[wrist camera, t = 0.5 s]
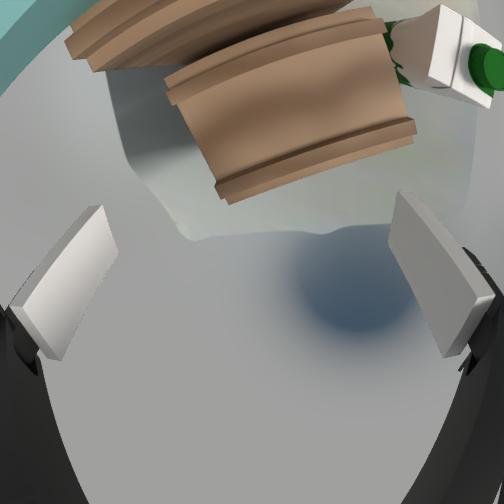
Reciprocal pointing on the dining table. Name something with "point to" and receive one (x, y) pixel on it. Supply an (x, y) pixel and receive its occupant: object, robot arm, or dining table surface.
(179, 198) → the dining table surface
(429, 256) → the robot arm
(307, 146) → the brown boxy piece
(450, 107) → the dining table surface
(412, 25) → the milk carton
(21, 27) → the bar
